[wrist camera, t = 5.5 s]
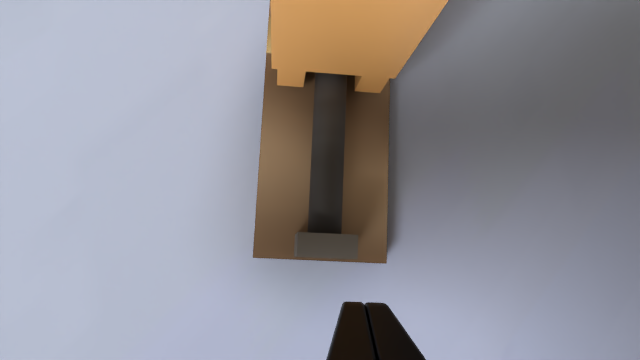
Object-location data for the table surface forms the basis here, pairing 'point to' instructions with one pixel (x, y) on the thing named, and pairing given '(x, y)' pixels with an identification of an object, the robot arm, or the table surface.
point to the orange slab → (347, 38)
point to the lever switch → (322, 170)
